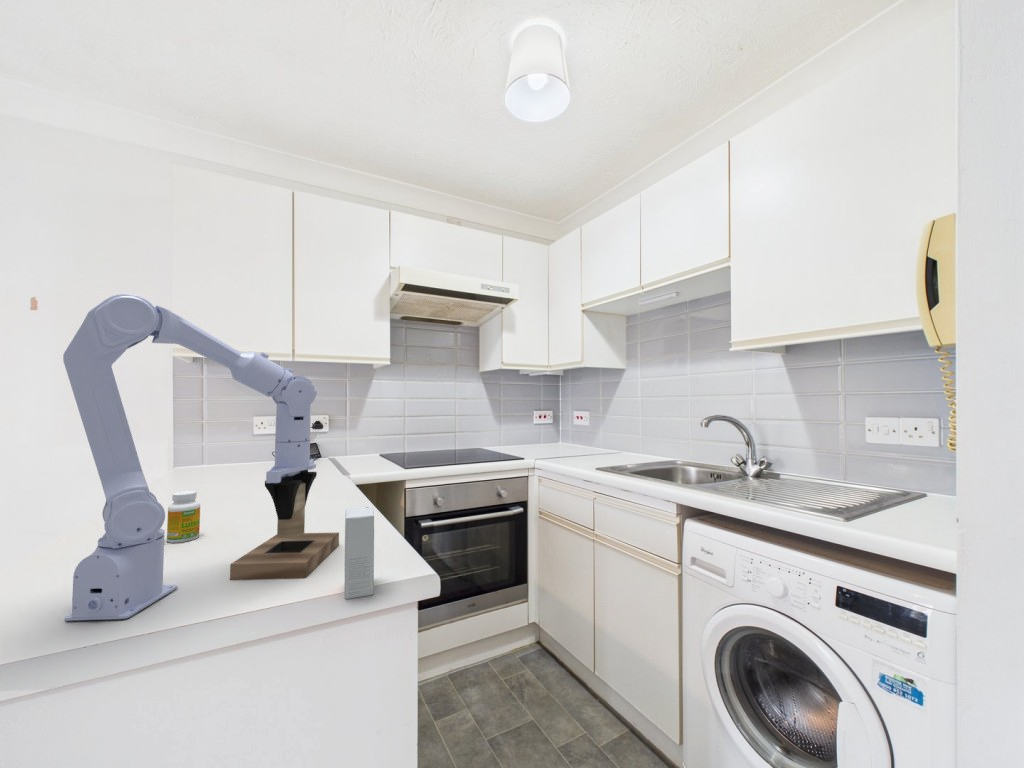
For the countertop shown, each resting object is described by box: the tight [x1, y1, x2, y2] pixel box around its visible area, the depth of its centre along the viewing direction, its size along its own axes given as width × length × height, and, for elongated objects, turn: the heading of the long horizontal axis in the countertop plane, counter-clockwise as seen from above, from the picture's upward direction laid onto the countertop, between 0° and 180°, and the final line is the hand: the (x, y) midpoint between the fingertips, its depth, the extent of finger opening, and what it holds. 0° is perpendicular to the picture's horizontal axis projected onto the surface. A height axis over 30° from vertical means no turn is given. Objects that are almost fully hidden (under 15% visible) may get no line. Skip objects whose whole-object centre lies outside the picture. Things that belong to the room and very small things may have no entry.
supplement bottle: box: [166, 490, 201, 544], centre depth 88 cm, size 5×5×10 cm
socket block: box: [229, 532, 340, 581], centre depth 76 cm, size 16×12×2 cm
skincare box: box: [344, 505, 375, 600], centre depth 65 cm, size 6×4×12 cm
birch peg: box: [276, 482, 306, 538], centre depth 76 cm, size 4×4×9 cm
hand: (291, 515), depth 76 cm, fingers closed on birch peg, 4 cm apart
